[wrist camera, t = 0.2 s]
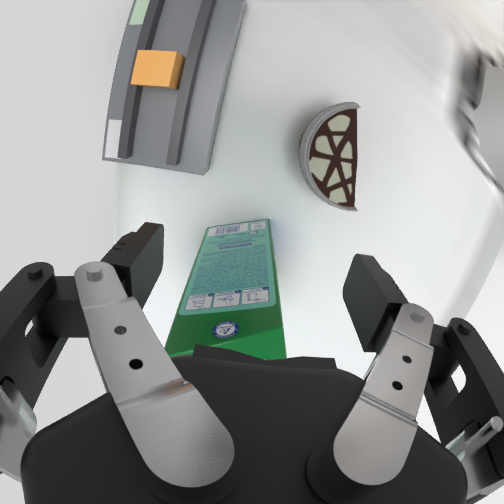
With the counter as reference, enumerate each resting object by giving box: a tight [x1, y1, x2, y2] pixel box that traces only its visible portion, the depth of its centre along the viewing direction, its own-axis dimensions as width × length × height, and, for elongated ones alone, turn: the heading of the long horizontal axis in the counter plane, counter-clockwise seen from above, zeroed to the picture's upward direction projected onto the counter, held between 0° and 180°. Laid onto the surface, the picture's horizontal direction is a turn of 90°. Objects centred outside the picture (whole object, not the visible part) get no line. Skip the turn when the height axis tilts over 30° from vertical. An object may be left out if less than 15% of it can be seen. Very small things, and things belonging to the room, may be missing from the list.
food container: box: [299, 102, 361, 211], centre depth 32 cm, size 12×6×10 cm, turn 3°
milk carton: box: [164, 219, 287, 360], centre depth 33 cm, size 9×9×25 cm
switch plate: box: [102, 0, 246, 175], centre depth 30 cm, size 24×14×6 cm, turn 168°
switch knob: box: [131, 50, 186, 90], centre depth 27 cm, size 4×4×4 cm
